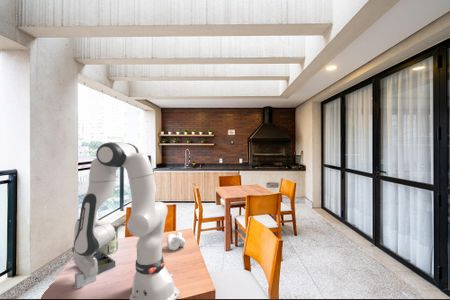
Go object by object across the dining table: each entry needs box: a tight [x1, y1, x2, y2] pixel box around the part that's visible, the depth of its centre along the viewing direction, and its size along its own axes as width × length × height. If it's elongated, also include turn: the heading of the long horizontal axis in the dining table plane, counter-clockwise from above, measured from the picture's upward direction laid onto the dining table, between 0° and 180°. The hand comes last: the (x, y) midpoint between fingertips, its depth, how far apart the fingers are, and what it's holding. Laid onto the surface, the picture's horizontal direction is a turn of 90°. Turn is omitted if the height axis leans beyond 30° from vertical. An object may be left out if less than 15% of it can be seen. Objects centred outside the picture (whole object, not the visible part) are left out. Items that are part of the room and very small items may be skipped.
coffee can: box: [101, 225, 119, 256], centre depth 132 cm, size 10×10×14 cm
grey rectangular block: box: [74, 271, 97, 290], centre depth 101 cm, size 3×8×6 cm, turn 142°
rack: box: [93, 248, 116, 276], centre depth 115 cm, size 18×12×7 cm
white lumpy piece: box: [166, 231, 186, 251], centre depth 138 cm, size 11×12×9 cm
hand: (85, 278), depth 101 cm, fingers closed on grey rectangular block, 3 cm apart
